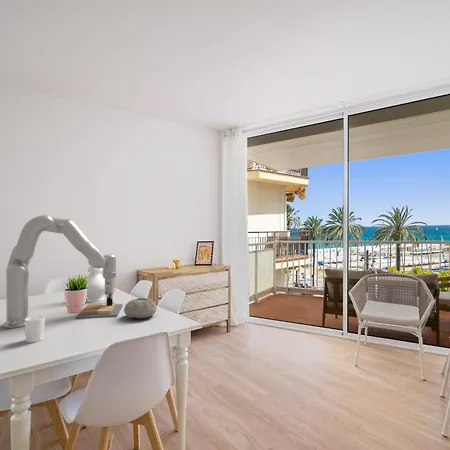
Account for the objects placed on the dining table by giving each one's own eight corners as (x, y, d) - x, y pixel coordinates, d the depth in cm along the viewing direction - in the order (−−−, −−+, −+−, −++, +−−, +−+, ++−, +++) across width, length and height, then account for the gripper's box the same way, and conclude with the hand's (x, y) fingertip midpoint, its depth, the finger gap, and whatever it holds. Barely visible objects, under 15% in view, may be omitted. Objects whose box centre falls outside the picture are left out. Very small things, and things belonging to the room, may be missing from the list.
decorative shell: (145, 323, 169) (145, 304, 169) (117, 319, 175) (117, 301, 175) (162, 314, 186) (162, 297, 186) (136, 311, 192) (136, 294, 192)
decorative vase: (92, 303, 211) (92, 266, 211) (75, 300, 220) (75, 264, 220) (114, 298, 226) (114, 263, 226) (97, 295, 235) (97, 261, 235)
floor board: (117, 316, 181) (117, 311, 181) (75, 318, 176) (75, 313, 176) (122, 305, 206) (122, 300, 206) (86, 307, 202) (86, 302, 202)
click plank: (110, 313, 183) (110, 310, 183) (96, 314, 181) (96, 310, 181) (115, 305, 202) (115, 302, 202) (103, 305, 201) (103, 302, 201)
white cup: (48, 337, 147) (48, 315, 147) (38, 343, 140) (38, 320, 140) (30, 337, 147) (30, 315, 147) (20, 343, 139) (20, 320, 139)
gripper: (113, 276, 187) (114, 308, 187) (117, 273, 202) (117, 302, 202) (100, 277, 186) (100, 308, 186) (105, 273, 201) (105, 302, 201)
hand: (109, 305), depth 194 cm, fingers closed
